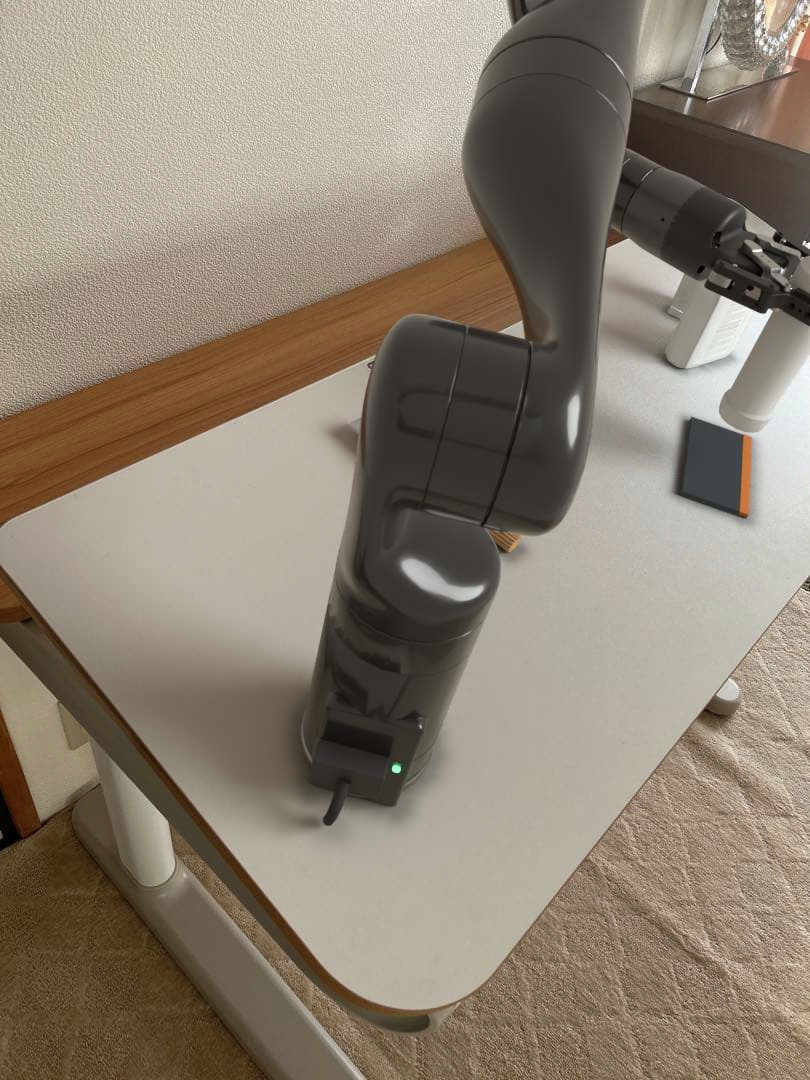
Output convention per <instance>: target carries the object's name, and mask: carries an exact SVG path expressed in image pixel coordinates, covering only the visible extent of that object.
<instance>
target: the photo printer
mask: <svg viewBox="0 0 810 1080" xmlns="http://www.w3.org/2000/svg"><path fill="white" fill-rule="evenodd" d="M706 280H707V279H705V280H702V281H699V282H698V283H697V285H696V287H695V289H694V291H693V293H692V295H691V297H690V299H689V301H688V303H687V305H686V307H685V309H684V312H683V313H682V316H681V318H680V319H678V322H677V324H676V326H675V327H674V330H673V332H672V335H671V337H670V339H669V341H668V343H667V345H666V348H665V350H664V354H665V358H666V360H667V361H668V362H669V363H670V364H672V365H673V366H675V367H677V368H679V369H685V370H686V369H687V370H688V369H693V368H697V367H701V366H703V365H707V364H709V363H712V362H716V361H719V360H722V359H725V358H726V357H729V355H731V353H732V352H733V350H734V349H735V346H736V344H737V343H738V342H739V339H740V338H741V335H742V333H743V331H744V329H745V327H746V326H747V324H748V323H749V320H750V318H751V317H752V315H753V313H754V312H755V311H754V310H751V309H749V308H747V307H745V306H743V305H741V304H738V303H736V302H734V301H732V300H730V299H727V298H725V297H723V296H721V295H719V294H717V293H714V292H712V291H710V290H708V289H706V288H705V287H704V284H705V282H706Z"/></svg>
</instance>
